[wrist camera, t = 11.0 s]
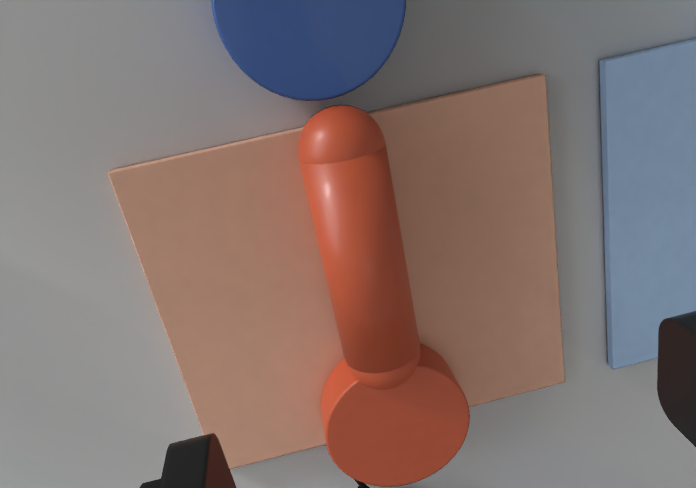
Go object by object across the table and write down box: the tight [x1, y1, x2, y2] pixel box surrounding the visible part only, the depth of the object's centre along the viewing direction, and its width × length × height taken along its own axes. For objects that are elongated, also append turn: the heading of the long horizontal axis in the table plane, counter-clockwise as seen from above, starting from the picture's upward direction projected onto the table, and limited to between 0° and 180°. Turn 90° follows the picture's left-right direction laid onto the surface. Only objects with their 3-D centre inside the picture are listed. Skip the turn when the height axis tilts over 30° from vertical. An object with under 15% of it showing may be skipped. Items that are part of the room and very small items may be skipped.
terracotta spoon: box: [298, 105, 470, 487], centre depth 19 cm, size 14×5×3 cm, turn 11°
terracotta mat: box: [108, 74, 565, 469], centre depth 20 cm, size 12×14×1 cm
